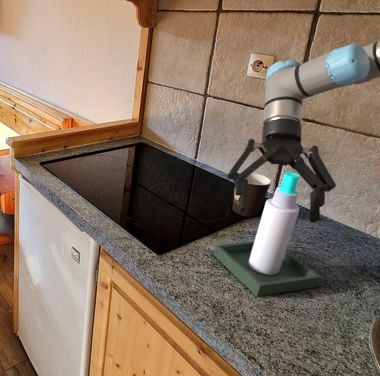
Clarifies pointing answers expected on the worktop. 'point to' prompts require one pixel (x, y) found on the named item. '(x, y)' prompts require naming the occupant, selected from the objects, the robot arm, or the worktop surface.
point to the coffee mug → (253, 194)
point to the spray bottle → (275, 227)
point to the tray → (260, 283)
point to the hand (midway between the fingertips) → (277, 215)
